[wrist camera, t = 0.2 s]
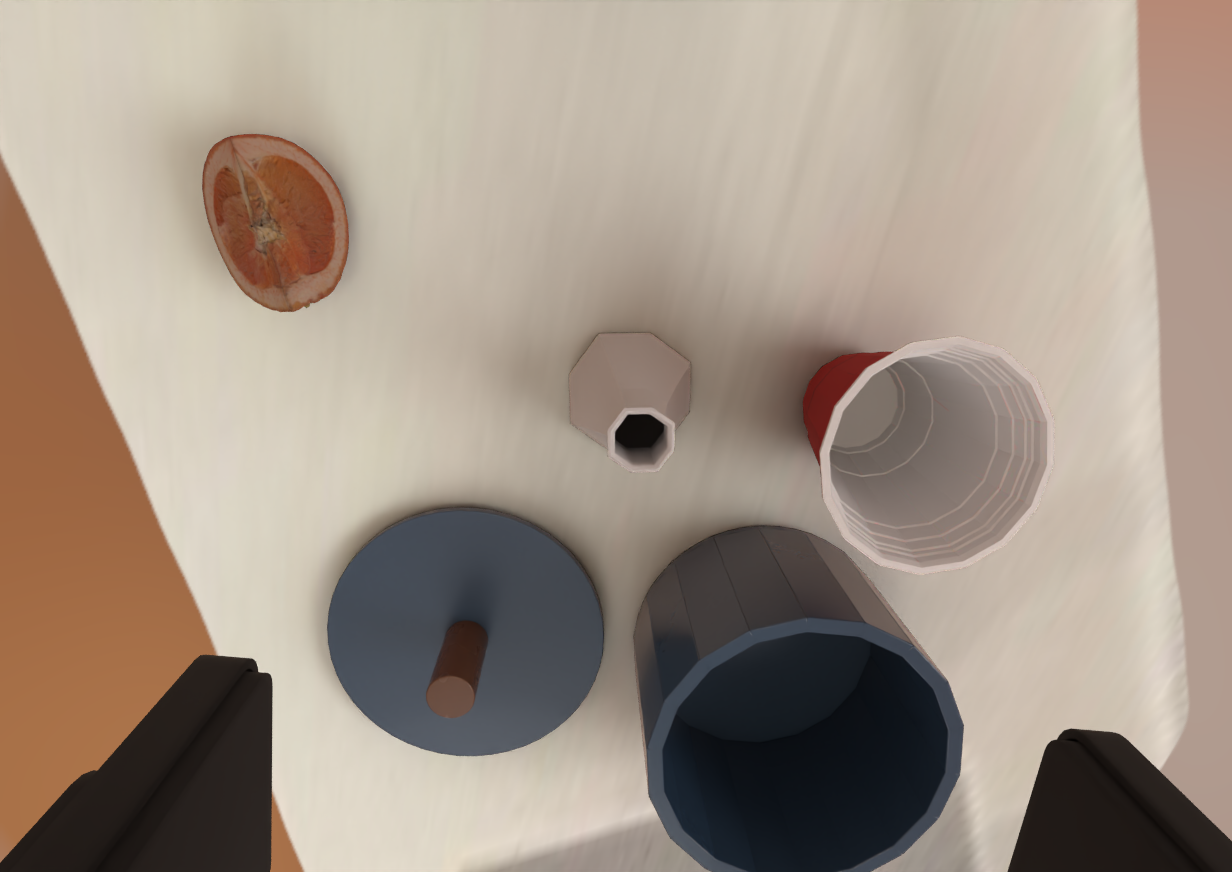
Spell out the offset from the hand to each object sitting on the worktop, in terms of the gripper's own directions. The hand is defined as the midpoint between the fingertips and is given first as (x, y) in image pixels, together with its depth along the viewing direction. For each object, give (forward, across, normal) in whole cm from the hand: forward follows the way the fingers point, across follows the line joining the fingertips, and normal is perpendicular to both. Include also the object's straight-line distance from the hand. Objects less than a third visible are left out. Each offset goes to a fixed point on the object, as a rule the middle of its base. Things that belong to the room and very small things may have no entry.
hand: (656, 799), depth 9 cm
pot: (+37, -12, +18) cm, 42 cm away
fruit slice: (+37, +17, -4) cm, 41 cm away
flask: (+37, -2, +3) cm, 37 cm away
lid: (+36, +6, +19) cm, 41 cm away
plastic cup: (+37, -15, +2) cm, 40 cm away
